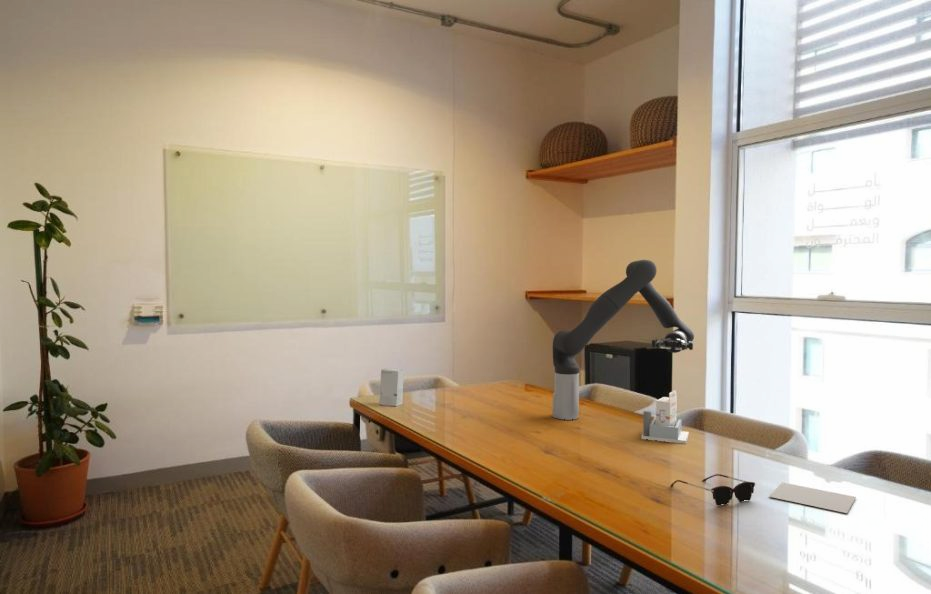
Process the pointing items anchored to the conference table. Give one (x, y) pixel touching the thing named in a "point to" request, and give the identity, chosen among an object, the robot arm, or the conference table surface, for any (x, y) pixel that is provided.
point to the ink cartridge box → (667, 410)
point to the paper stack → (813, 497)
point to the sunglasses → (728, 490)
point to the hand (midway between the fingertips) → (670, 346)
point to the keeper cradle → (662, 431)
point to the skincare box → (391, 387)
